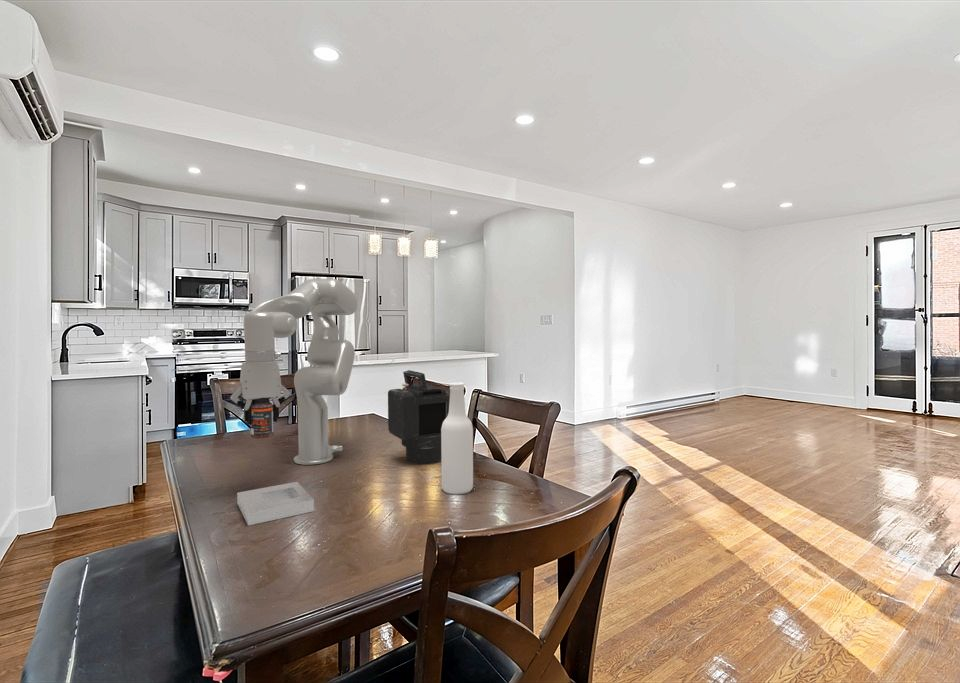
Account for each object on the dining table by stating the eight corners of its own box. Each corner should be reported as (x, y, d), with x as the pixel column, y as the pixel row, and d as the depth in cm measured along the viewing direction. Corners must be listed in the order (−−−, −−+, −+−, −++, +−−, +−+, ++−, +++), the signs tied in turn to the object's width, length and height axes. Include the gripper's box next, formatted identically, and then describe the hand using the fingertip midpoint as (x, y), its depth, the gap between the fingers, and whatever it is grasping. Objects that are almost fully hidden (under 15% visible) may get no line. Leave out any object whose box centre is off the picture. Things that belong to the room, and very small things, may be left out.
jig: (297, 492, 136) (297, 481, 135) (313, 511, 122) (313, 499, 122) (237, 504, 127) (237, 492, 127) (248, 525, 114) (247, 513, 114)
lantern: (454, 460, 165) (453, 371, 164) (405, 469, 156) (404, 375, 154) (434, 450, 178) (433, 367, 176) (387, 458, 168) (386, 370, 167)
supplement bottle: (251, 440, 132) (249, 398, 132) (250, 435, 138) (248, 395, 137) (275, 437, 135) (273, 396, 135) (273, 432, 141) (271, 393, 140)
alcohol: (435, 490, 137) (434, 383, 135) (455, 482, 144) (455, 380, 142) (459, 497, 131) (459, 385, 130) (479, 488, 138) (479, 382, 137)
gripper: (289, 355, 143) (291, 416, 144) (223, 358, 134) (225, 423, 135) (296, 356, 137) (297, 420, 138) (227, 360, 127) (229, 429, 128)
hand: (262, 421), depth 136 cm, fingers closed on supplement bottle, 5 cm apart
